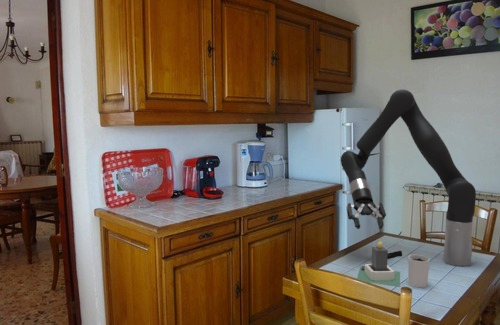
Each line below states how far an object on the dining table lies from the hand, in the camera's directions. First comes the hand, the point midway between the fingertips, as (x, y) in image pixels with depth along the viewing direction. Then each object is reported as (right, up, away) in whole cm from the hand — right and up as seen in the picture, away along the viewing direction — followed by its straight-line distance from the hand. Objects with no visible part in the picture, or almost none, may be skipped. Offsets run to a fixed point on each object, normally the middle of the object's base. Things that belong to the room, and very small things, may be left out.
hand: (370, 227), depth 147 cm
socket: (0, -16, -9) cm, 18 cm away
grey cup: (+11, -18, -15) cm, 26 cm away
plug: (0, -16, -9) cm, 18 cm away
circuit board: (0, -17, -9) cm, 19 cm away
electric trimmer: (+11, -15, +11) cm, 22 cm away
